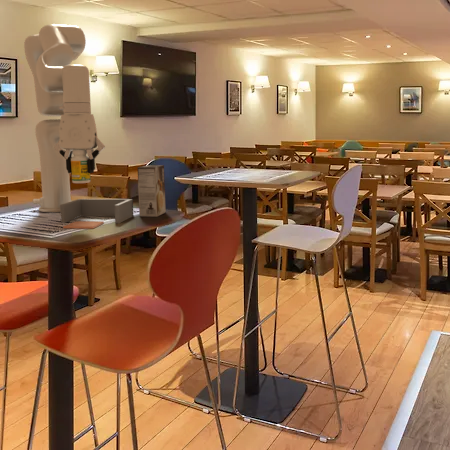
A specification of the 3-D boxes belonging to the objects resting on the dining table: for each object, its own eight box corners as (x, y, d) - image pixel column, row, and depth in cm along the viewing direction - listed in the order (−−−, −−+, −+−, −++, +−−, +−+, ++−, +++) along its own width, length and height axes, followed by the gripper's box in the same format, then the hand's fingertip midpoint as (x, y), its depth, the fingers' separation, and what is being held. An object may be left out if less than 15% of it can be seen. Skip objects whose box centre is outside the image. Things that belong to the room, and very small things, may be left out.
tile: (63, 228, 170) (63, 226, 170) (75, 223, 178) (75, 221, 178) (93, 228, 168) (93, 226, 168) (103, 223, 177) (103, 221, 177)
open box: (61, 222, 180) (60, 205, 179) (79, 215, 194) (78, 198, 193) (119, 223, 177) (118, 205, 176) (133, 215, 192) (132, 199, 191)
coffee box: (148, 212, 199) (146, 165, 196) (166, 212, 198) (164, 165, 195) (138, 216, 190) (136, 166, 187) (157, 216, 189) (156, 166, 186)
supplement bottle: (80, 181, 175) (79, 149, 173) (94, 182, 172) (93, 149, 171) (68, 183, 170) (66, 149, 169) (82, 183, 168) (80, 149, 166)
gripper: (43, 109, 165) (47, 174, 168) (101, 108, 163) (105, 173, 166) (54, 110, 173) (58, 172, 176) (110, 109, 170) (113, 171, 173)
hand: (80, 172), depth 171 cm, fingers closed on supplement bottle, 5 cm apart
